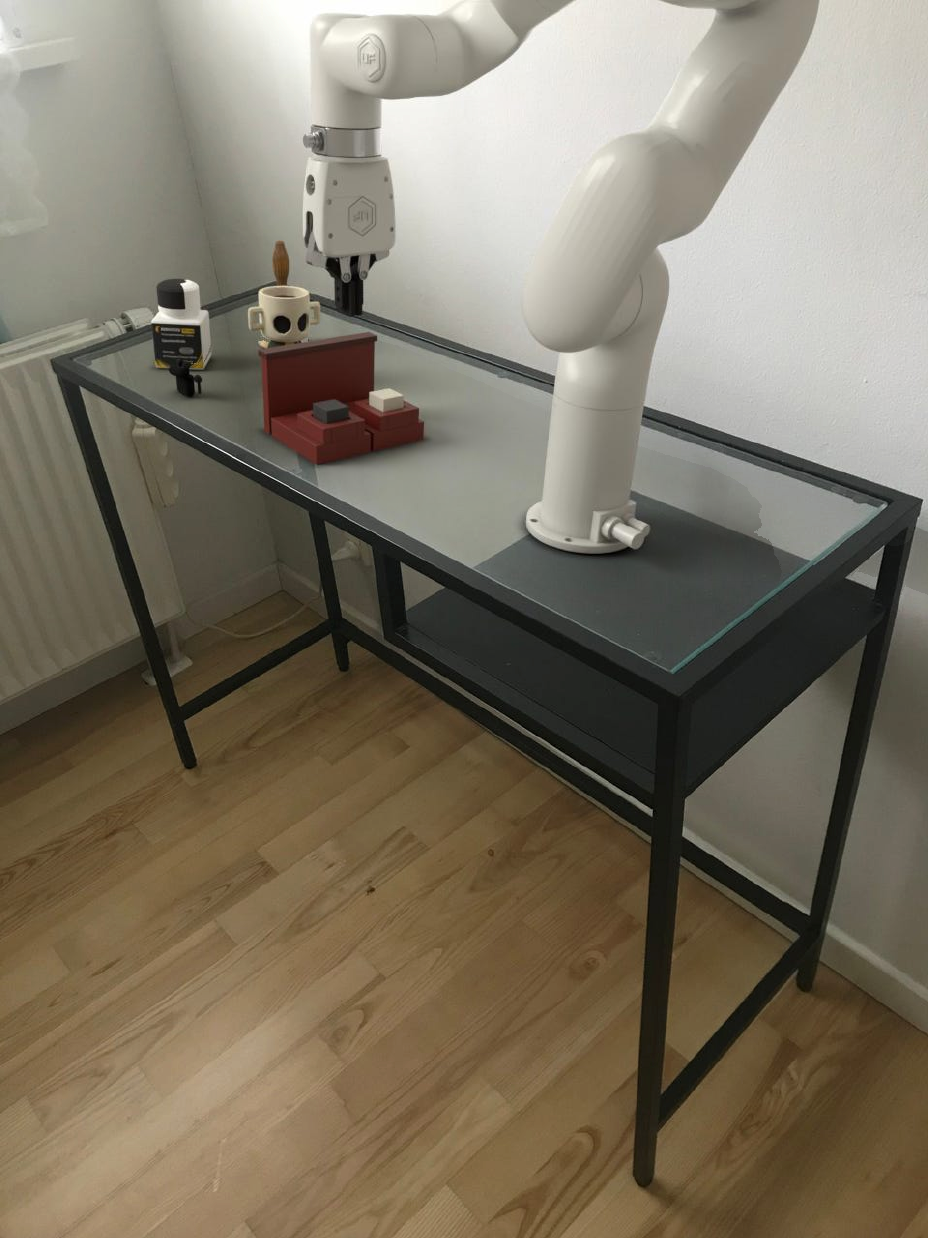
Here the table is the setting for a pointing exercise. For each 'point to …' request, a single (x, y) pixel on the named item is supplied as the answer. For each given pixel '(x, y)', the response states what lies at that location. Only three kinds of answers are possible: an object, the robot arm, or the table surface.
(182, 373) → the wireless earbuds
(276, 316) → the character mug
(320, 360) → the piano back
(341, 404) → the ebony key
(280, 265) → the hand bell
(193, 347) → the medicine bottle
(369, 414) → the red white-inset block
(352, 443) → the red grey-inset block
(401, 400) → the ivory key
